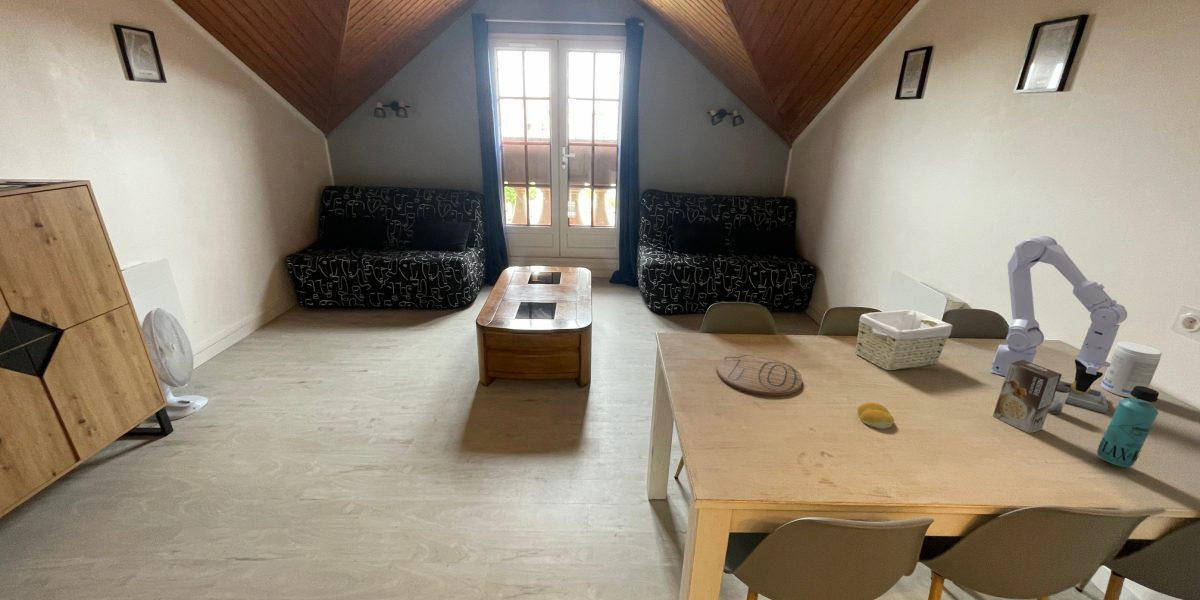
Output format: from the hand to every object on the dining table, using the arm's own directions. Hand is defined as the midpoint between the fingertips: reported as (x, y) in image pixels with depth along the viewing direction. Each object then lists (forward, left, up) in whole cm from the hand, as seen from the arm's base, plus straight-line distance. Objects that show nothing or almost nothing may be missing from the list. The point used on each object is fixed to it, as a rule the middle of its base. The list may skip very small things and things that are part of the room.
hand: (1079, 387), depth 146 cm
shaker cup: (-6, -15, -3) cm, 17 cm away
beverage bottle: (+5, -37, -4) cm, 38 cm away
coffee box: (-13, -30, -4) cm, 33 cm away
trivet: (-75, -54, -4) cm, 92 cm away
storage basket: (-46, -9, -4) cm, 47 cm away
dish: (0, 0, -3) cm, 3 cm away
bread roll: (-42, -56, -4) cm, 70 cm away
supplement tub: (+11, +16, -4) cm, 20 cm away
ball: (0, 0, 0) cm, 0 cm away
